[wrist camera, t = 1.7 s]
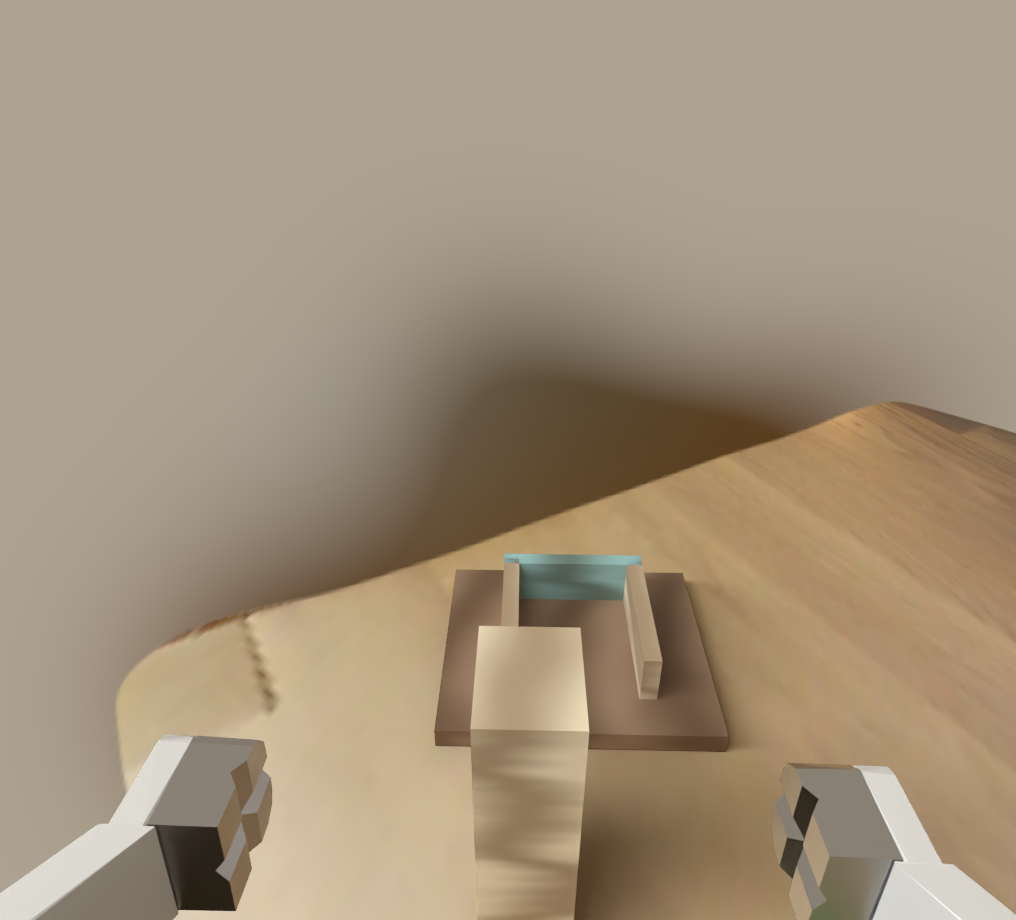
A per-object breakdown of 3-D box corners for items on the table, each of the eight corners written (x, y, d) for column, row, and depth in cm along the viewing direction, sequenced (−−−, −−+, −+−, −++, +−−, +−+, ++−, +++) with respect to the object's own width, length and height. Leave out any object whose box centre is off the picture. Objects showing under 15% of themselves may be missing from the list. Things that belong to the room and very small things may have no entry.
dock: (680, 586, 53) (687, 538, 51) (725, 751, 41) (737, 697, 39) (456, 582, 53) (454, 535, 51) (435, 745, 41) (431, 692, 39)
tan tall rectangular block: (566, 842, 36) (580, 627, 29) (571, 952, 32) (589, 731, 25) (484, 840, 36) (479, 625, 29) (478, 950, 32) (470, 729, 25)
